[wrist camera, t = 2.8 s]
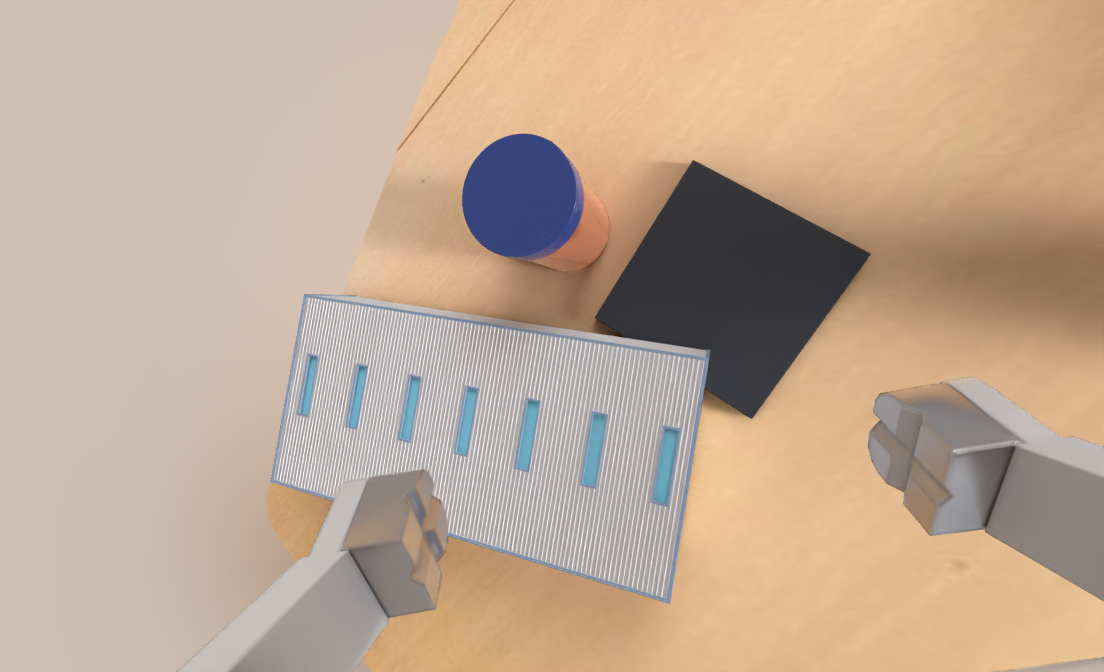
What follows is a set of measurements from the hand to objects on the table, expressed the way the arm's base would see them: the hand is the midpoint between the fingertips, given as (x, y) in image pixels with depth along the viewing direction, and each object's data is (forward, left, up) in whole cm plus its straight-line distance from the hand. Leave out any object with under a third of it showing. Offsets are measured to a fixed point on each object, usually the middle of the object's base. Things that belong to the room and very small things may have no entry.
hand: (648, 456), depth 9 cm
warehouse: (+12, -10, -28) cm, 32 cm away
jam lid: (-3, -13, -18) cm, 22 cm away
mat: (-5, -1, -28) cm, 29 cm away
